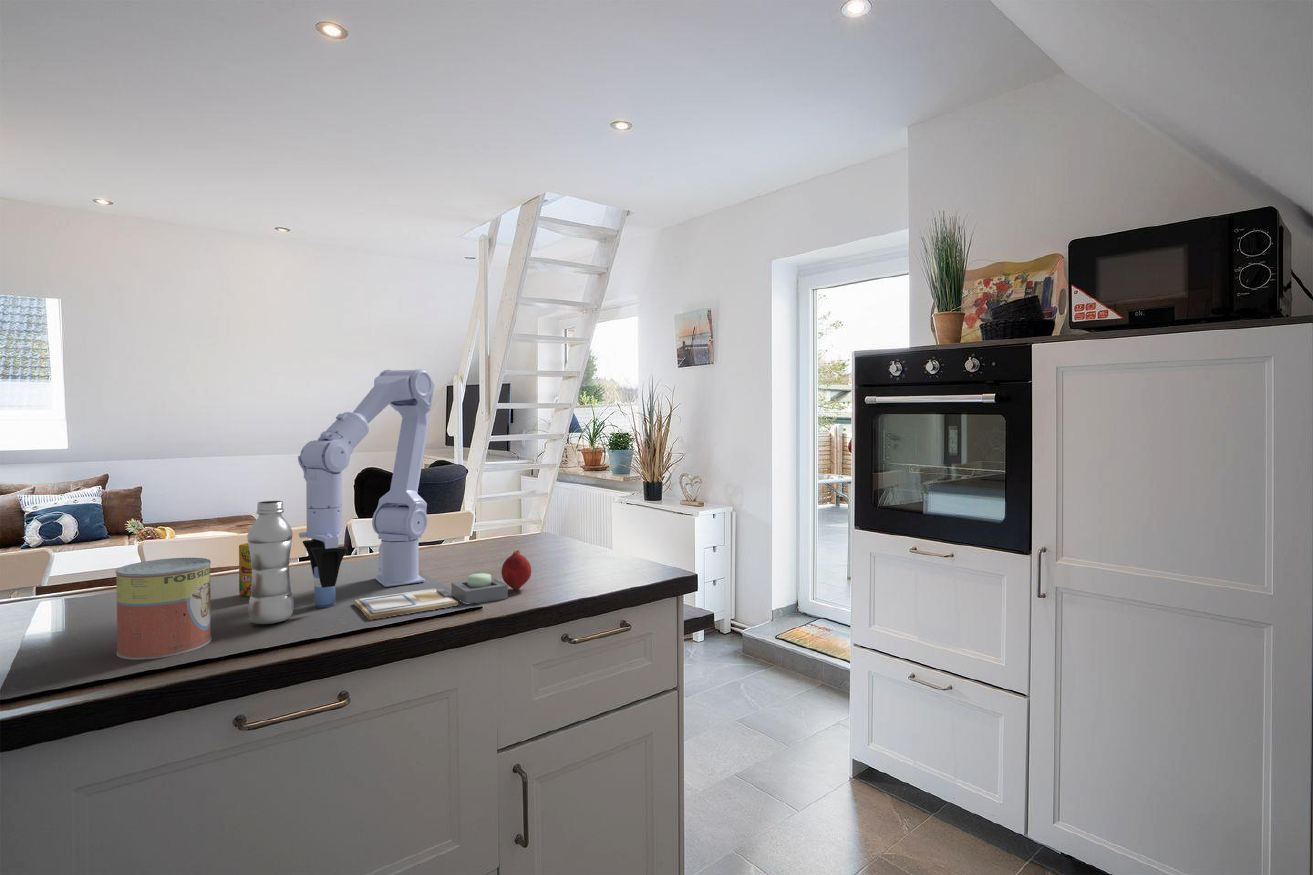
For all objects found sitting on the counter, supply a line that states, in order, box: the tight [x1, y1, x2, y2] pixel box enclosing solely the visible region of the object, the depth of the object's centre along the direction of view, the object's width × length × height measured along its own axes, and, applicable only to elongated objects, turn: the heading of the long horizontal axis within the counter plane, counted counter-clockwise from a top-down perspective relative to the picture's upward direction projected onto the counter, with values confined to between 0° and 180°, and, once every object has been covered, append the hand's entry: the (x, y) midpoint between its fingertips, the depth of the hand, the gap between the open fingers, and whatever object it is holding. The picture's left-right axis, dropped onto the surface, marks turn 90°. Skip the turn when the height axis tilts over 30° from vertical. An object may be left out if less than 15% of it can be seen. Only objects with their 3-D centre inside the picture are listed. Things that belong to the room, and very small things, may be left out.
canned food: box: [115, 557, 213, 661], centre depth 98 cm, size 11×11×12 cm
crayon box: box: [238, 542, 252, 598], centre depth 126 cm, size 7×3×12 cm, turn 68°
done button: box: [466, 572, 492, 589], centre depth 126 cm, size 4×4×2 cm
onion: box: [500, 549, 532, 591], centre depth 132 cm, size 6×6×8 cm
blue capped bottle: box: [313, 567, 336, 609], centre depth 120 cm, size 3×3×7 cm
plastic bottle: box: [246, 500, 295, 625], centre depth 109 cm, size 6×7×20 cm
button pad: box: [450, 576, 509, 604], centre depth 126 cm, size 8×8×2 cm
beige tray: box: [353, 587, 459, 621], centre depth 120 cm, size 12×15×1 cm
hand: (324, 582), depth 119 cm, fingers open, 7 cm apart
